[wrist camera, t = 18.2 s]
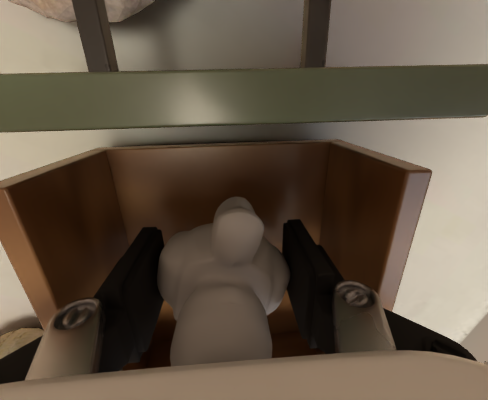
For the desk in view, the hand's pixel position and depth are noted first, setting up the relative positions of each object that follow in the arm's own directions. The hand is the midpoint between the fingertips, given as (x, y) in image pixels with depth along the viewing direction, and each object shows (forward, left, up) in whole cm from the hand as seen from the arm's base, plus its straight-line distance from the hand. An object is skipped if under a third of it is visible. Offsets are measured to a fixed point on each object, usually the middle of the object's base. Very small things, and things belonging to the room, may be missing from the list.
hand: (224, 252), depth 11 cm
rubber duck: (0, 0, -1) cm, 1 cm away
